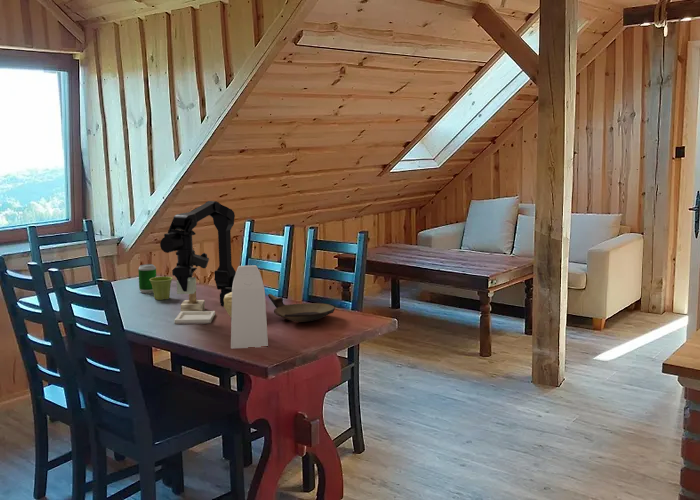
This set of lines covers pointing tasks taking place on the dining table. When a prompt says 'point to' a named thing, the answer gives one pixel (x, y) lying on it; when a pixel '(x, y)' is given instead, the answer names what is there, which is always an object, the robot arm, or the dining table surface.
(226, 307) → the sculpture
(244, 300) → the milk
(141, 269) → the soda can
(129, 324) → the dining table surface
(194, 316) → the tray
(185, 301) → the wide bore block
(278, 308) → the oil lamp
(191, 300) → the dowel pin
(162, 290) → the plant pot
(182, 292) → the narrow bore block
